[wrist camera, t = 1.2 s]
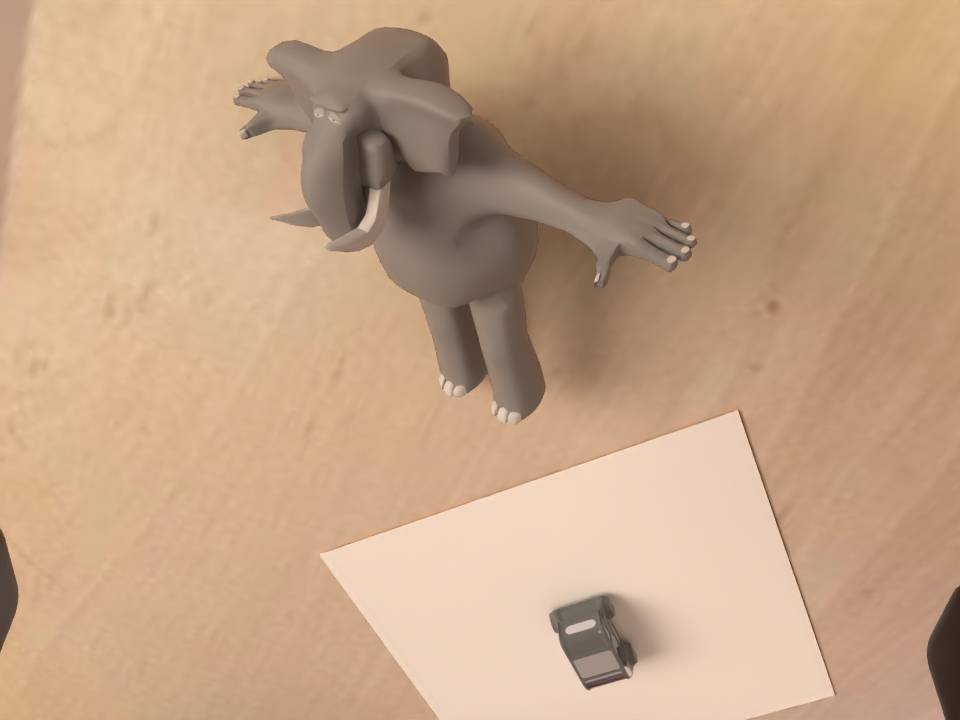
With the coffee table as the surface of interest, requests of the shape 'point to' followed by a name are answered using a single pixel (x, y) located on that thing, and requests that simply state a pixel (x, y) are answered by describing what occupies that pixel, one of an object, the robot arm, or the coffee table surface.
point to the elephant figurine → (439, 199)
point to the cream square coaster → (599, 592)
